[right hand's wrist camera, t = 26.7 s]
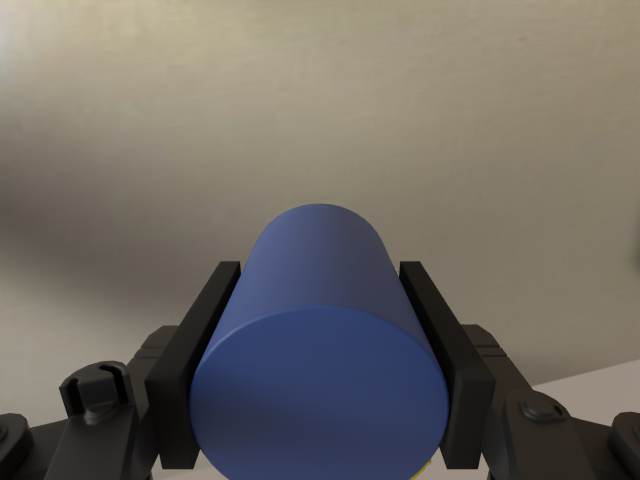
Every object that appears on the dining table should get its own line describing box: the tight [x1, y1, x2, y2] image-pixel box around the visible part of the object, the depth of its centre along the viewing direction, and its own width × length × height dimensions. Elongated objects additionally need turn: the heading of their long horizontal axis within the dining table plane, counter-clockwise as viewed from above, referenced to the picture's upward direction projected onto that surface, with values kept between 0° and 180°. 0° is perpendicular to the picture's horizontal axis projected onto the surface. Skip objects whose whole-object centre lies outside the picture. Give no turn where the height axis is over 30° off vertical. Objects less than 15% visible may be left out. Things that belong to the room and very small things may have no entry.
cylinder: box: [188, 204, 450, 480], centre depth 13 cm, size 6×6×9 cm
